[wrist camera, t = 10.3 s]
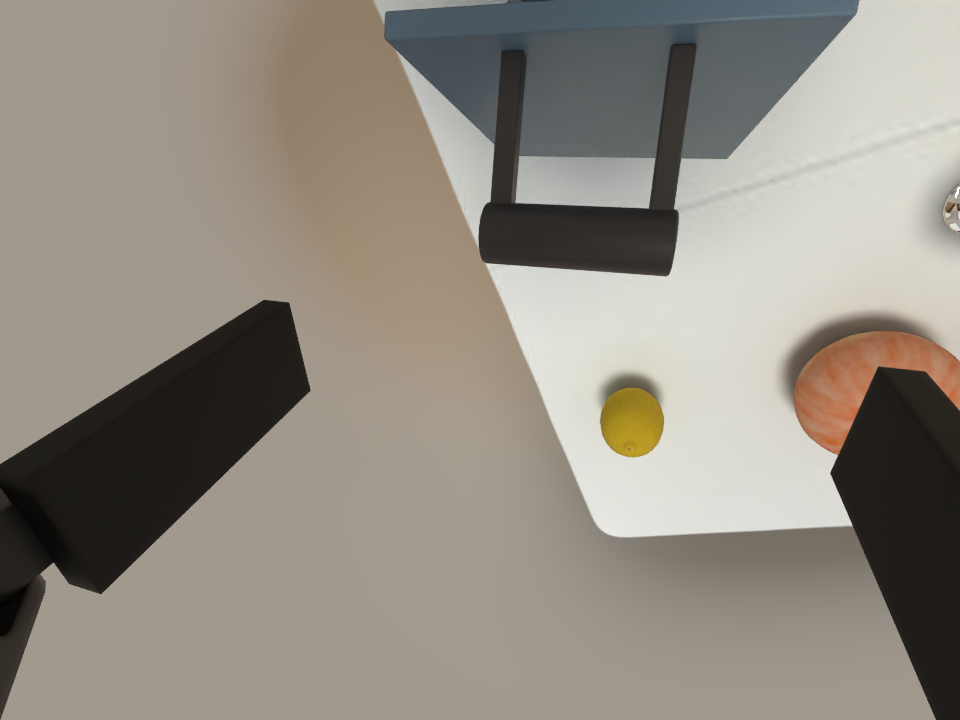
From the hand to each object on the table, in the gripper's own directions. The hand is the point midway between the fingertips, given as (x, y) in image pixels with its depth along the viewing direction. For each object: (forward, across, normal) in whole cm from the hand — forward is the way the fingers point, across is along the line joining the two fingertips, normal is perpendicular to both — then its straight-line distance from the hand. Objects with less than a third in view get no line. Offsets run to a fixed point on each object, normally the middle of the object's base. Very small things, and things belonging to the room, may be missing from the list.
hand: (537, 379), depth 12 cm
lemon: (+33, +4, -22) cm, 40 cm away
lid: (+15, 0, +5) cm, 16 cm away
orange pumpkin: (+33, +21, -16) cm, 42 cm away
